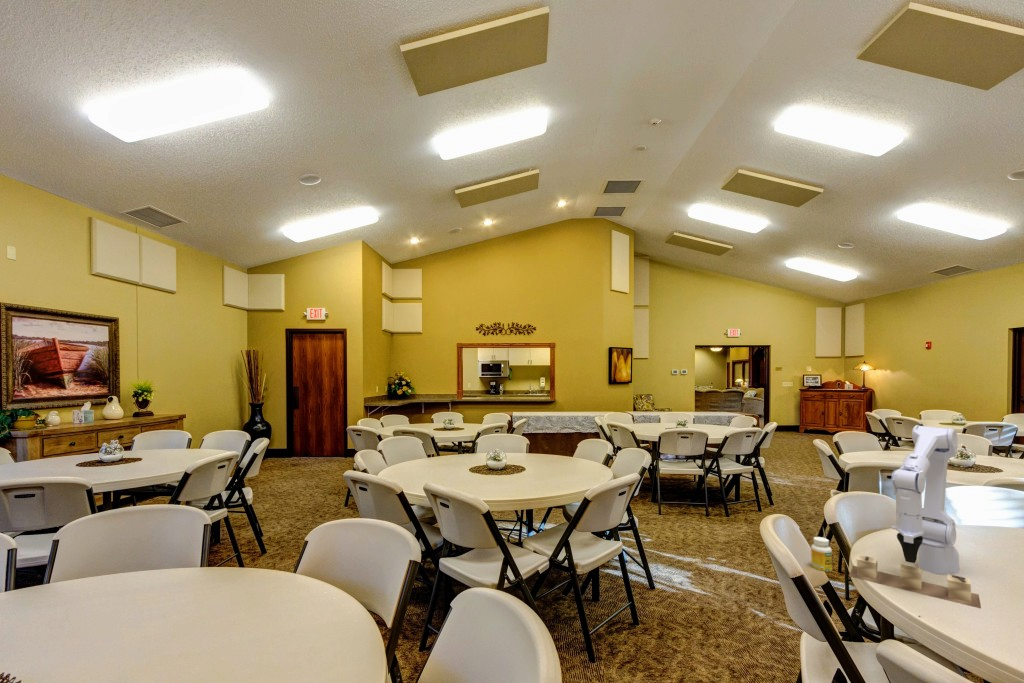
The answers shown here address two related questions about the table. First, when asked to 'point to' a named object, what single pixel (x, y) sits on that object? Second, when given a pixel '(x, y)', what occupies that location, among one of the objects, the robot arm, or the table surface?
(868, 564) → the block one
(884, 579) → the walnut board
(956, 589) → the block seven
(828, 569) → the supplement bottle
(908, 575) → the plain block
